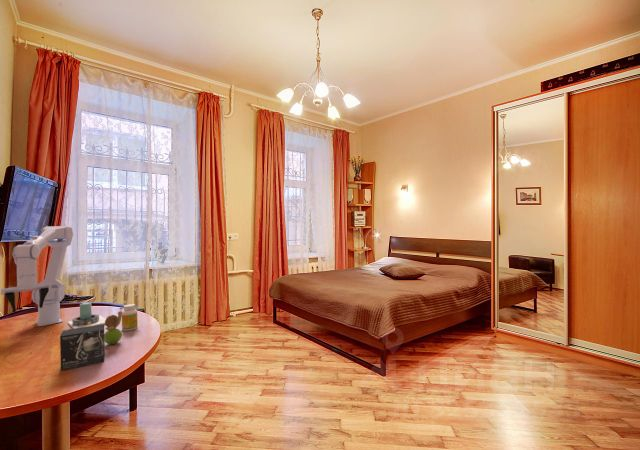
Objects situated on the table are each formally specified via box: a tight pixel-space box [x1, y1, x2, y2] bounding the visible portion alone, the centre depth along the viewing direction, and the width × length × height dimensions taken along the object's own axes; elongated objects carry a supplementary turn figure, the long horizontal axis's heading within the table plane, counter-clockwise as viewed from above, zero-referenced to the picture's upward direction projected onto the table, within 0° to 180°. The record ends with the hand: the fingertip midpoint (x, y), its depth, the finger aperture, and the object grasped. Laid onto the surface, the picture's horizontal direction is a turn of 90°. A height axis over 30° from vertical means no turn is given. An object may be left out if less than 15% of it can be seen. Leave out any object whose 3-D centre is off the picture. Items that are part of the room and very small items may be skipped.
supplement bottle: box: [121, 303, 138, 332], centre depth 126 cm, size 5×5×10 cm
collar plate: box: [67, 313, 107, 329], centre depth 135 cm, size 15×12×3 cm
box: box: [59, 324, 106, 372], centre depth 96 cm, size 11×7×10 cm, turn 123°
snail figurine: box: [104, 307, 124, 345], centre depth 111 cm, size 5×6×12 cm
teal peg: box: [79, 302, 93, 320], centre depth 134 cm, size 4×5×8 cm
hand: (27, 309), depth 122 cm, fingers open, 7 cm apart
